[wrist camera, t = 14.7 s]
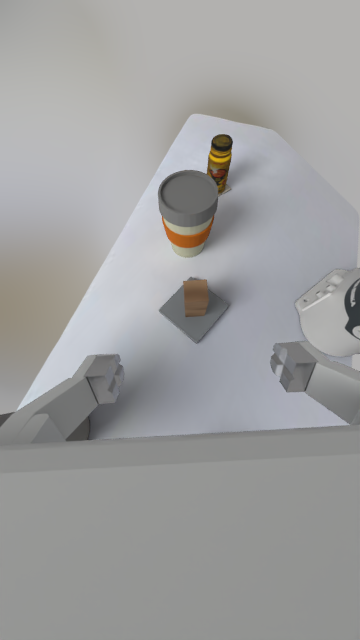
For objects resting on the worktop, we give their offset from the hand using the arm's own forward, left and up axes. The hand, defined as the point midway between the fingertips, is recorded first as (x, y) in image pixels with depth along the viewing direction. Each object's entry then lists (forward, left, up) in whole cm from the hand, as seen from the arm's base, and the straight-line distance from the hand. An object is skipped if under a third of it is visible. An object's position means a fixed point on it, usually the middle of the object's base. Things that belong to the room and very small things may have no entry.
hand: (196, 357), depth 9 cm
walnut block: (-12, -8, -30) cm, 33 cm away
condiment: (-48, -31, -32) cm, 65 cm away
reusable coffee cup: (-26, -23, -32) cm, 46 cm away
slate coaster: (-12, -9, -31) cm, 34 cm away
